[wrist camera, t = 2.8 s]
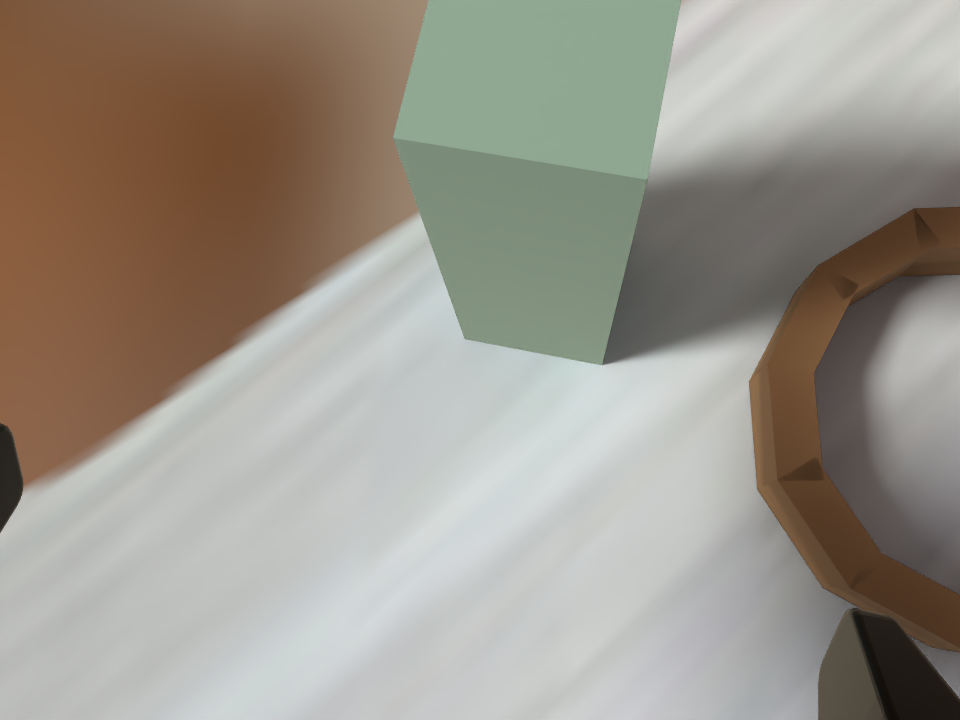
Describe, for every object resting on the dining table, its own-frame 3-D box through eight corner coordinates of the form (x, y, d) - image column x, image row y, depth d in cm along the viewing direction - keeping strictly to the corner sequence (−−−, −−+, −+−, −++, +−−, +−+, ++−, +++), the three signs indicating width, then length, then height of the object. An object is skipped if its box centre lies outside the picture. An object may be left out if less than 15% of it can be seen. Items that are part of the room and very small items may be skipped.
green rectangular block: (602, 365, 23) (647, 180, 12) (464, 339, 23) (392, 137, 13) (626, 234, 24) (689, -47, 13) (493, 211, 24) (449, -79, 13)
